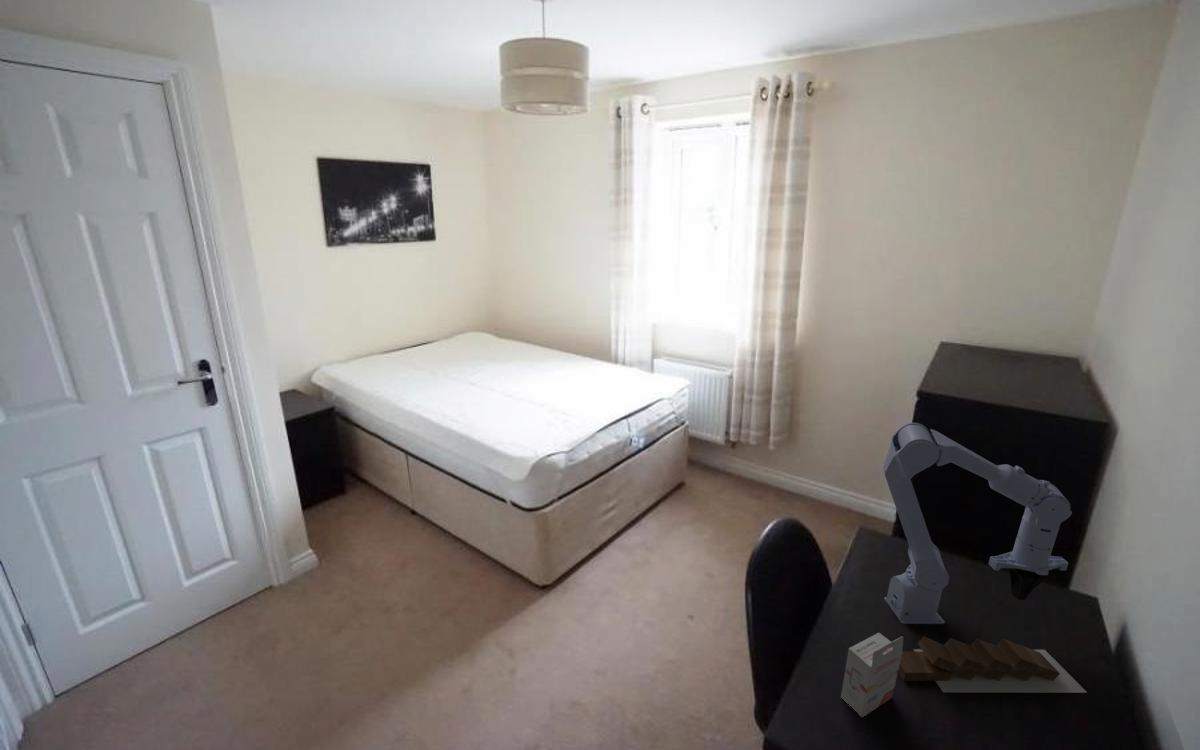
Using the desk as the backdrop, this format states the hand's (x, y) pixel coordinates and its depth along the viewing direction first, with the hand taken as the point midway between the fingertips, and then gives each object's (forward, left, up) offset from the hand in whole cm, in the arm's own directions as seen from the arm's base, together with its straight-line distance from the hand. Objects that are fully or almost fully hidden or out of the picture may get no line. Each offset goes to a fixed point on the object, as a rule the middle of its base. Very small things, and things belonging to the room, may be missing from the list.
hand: (1017, 596), depth 111 cm
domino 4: (-5, -10, -8) cm, 14 cm away
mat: (-9, -10, -9) cm, 17 cm away
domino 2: (-16, -10, -8) cm, 20 cm away
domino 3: (-10, -10, -8) cm, 16 cm away
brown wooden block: (0, -10, -8) cm, 13 cm away
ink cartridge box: (-38, -16, -10) cm, 42 cm away
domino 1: (-20, -10, -8) cm, 24 cm away
